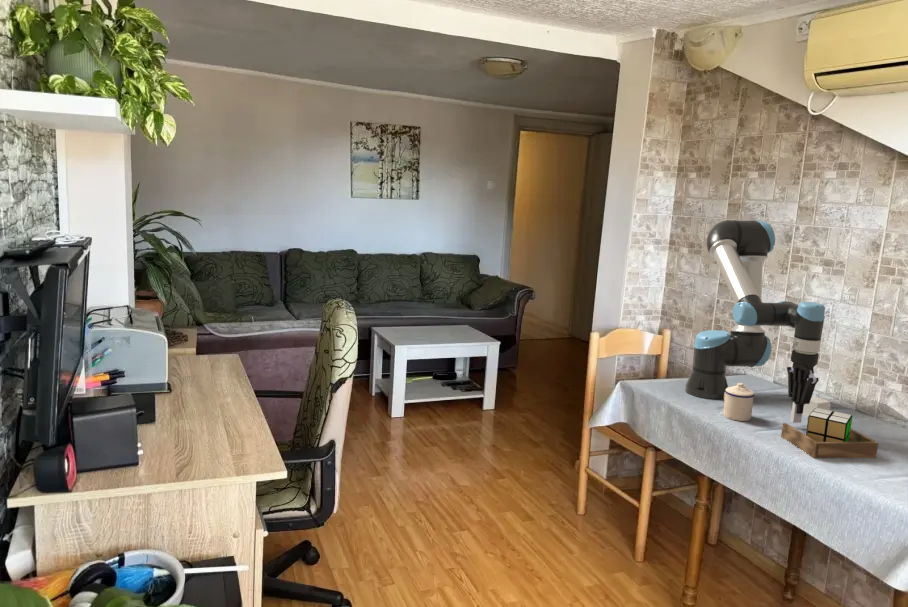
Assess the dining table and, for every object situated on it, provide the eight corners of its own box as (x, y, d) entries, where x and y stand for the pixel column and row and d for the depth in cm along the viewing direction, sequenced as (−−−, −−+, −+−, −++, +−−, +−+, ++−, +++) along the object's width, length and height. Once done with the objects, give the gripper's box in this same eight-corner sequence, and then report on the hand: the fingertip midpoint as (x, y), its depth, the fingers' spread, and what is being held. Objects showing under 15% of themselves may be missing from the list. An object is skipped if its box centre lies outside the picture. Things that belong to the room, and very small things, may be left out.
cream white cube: (828, 418, 217) (830, 401, 216) (815, 420, 215) (818, 403, 214) (812, 412, 222) (815, 396, 221) (800, 414, 220) (802, 397, 219)
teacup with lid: (757, 421, 212) (761, 387, 210) (733, 422, 210) (737, 388, 208) (735, 408, 224) (738, 376, 222) (711, 410, 222) (715, 377, 220)
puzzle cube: (811, 437, 199) (815, 407, 197) (848, 446, 193) (852, 414, 191) (804, 447, 192) (808, 415, 190) (842, 456, 185) (847, 423, 184)
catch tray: (781, 436, 199) (782, 423, 198) (838, 436, 201) (840, 422, 200) (813, 458, 183) (815, 443, 182) (876, 457, 185) (878, 443, 184)
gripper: (782, 345, 209) (773, 414, 213) (807, 356, 196) (796, 429, 200) (803, 345, 209) (794, 414, 214) (830, 357, 196) (819, 429, 201)
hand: (795, 421), depth 207 cm, fingers closed
